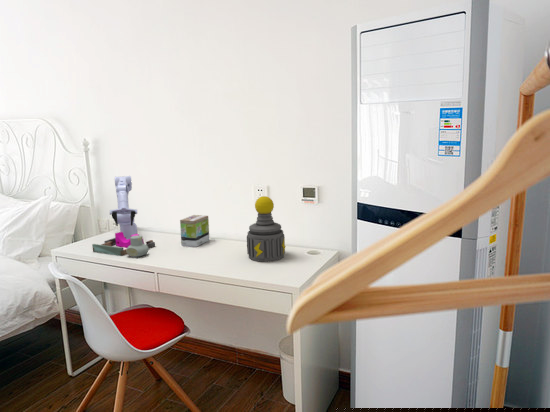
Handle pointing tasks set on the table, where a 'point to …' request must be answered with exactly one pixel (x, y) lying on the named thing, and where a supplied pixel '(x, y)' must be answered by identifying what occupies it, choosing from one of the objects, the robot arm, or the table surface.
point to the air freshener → (137, 247)
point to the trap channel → (109, 248)
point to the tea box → (194, 230)
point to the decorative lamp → (265, 234)
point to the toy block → (123, 240)
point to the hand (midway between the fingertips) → (124, 225)
